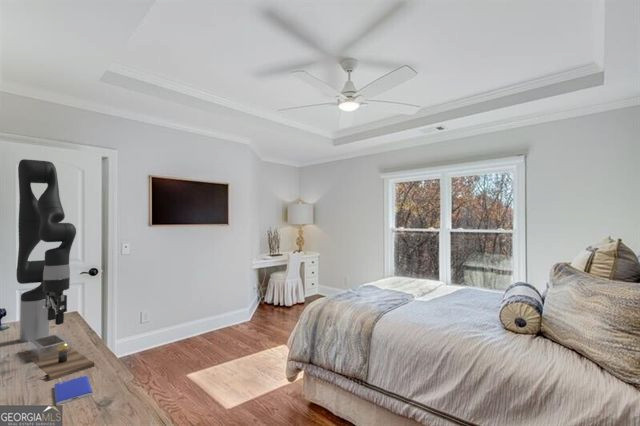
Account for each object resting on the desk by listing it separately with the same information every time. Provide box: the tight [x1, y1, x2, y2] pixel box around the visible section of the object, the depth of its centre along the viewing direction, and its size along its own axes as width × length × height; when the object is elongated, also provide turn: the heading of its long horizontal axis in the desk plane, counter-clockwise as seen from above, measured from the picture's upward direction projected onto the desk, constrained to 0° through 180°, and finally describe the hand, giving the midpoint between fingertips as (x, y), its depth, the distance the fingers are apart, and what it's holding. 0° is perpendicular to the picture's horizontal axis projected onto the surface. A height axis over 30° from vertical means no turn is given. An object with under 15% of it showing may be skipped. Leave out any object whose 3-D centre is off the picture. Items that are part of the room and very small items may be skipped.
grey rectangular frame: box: [27, 333, 72, 360], centre depth 119 cm, size 14×9×4 cm, turn 55°
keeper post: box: [57, 343, 69, 363], centre depth 110 cm, size 3×3×6 cm
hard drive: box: [54, 375, 94, 406], centre depth 94 cm, size 2×8×12 cm
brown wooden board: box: [22, 347, 95, 381], centre depth 114 cm, size 32×12×1 cm, turn 55°
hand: (55, 321), depth 115 cm, fingers open, 8 cm apart
